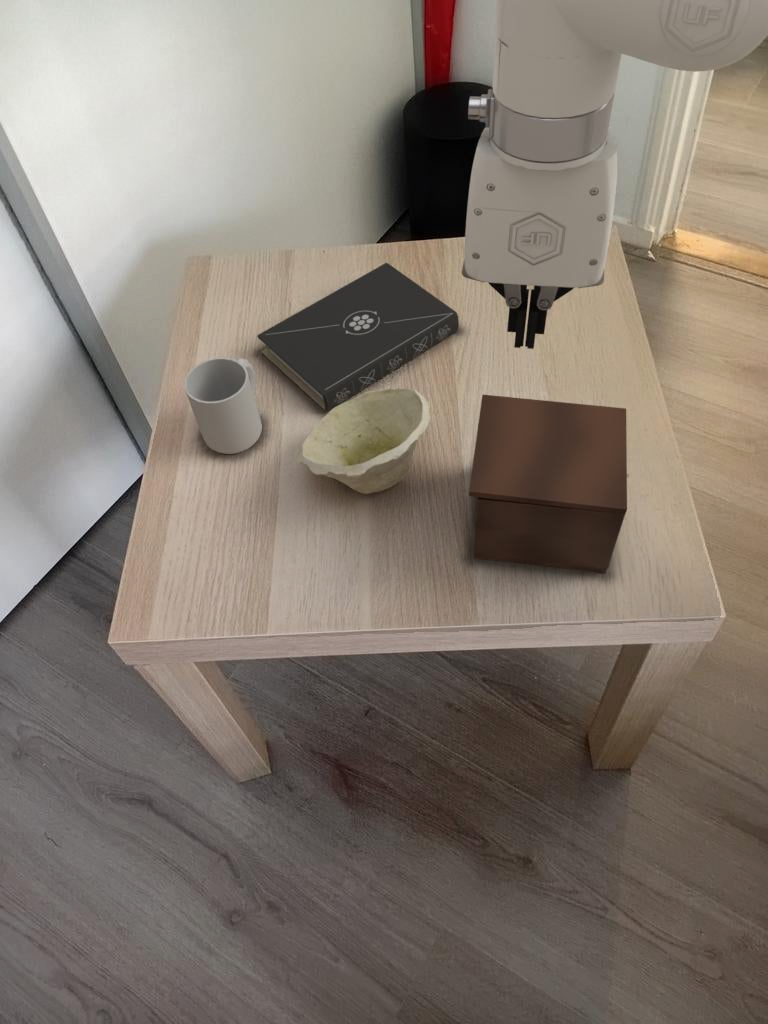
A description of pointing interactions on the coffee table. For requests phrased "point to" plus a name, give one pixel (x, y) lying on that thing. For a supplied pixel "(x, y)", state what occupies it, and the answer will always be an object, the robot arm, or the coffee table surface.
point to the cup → (225, 403)
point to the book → (357, 335)
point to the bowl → (368, 439)
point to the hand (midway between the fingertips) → (525, 336)
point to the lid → (551, 454)
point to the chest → (545, 534)
